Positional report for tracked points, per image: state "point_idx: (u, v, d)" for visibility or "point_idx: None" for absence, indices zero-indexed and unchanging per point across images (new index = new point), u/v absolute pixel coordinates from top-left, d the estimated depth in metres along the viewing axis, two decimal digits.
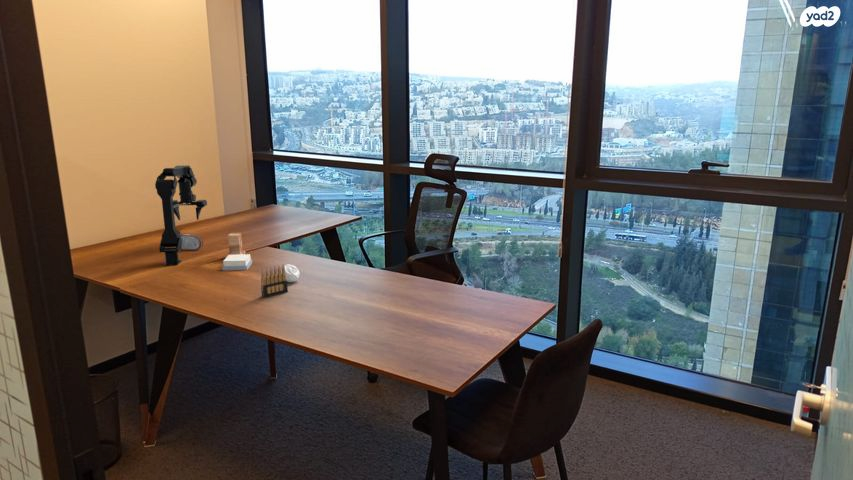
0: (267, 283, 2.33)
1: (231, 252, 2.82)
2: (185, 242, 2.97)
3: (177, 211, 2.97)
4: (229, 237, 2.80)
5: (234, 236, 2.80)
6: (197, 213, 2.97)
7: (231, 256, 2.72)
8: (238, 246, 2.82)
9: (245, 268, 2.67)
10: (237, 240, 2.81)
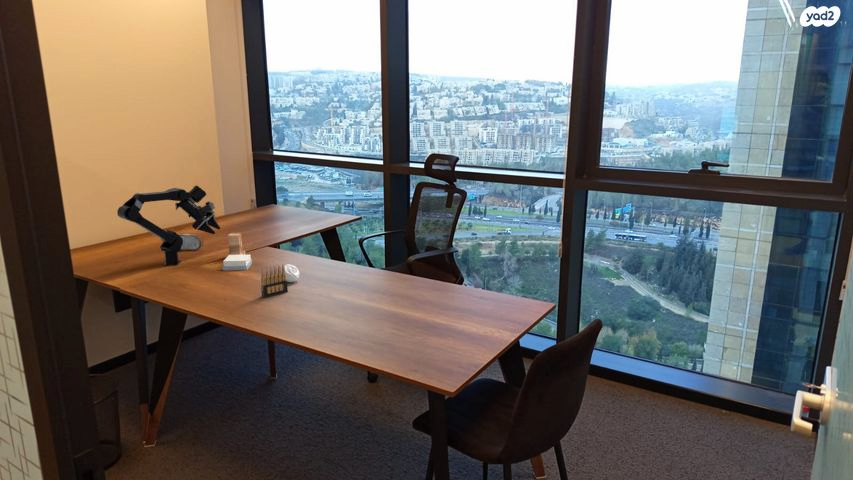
0: (267, 283, 2.33)
1: (231, 252, 2.82)
2: (185, 242, 2.97)
3: (211, 223, 2.85)
4: (229, 237, 2.80)
5: (234, 236, 2.80)
6: None
7: (232, 256, 2.72)
8: (238, 246, 2.82)
9: (245, 268, 2.67)
10: (237, 240, 2.81)
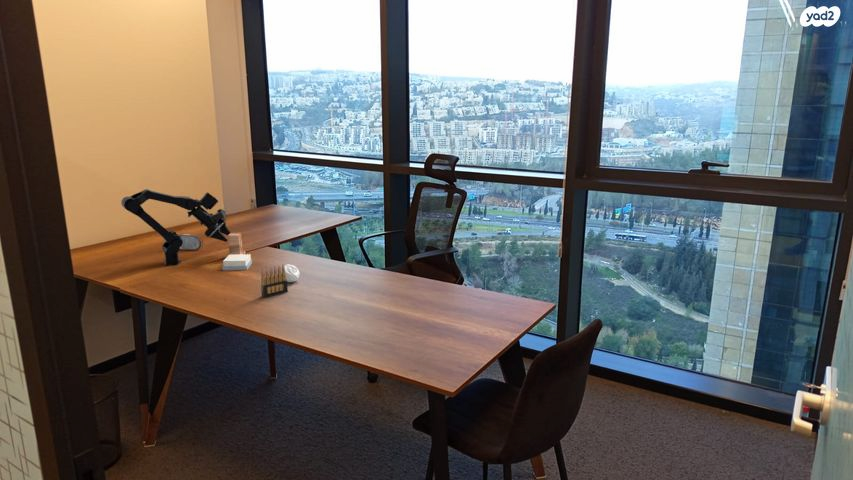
0: (267, 283, 2.33)
1: (231, 252, 2.82)
2: (185, 242, 2.97)
3: (223, 230, 2.87)
4: (229, 237, 2.80)
5: (234, 236, 2.80)
6: None
7: (232, 256, 2.72)
8: (238, 246, 2.82)
9: (245, 268, 2.67)
10: (237, 240, 2.81)
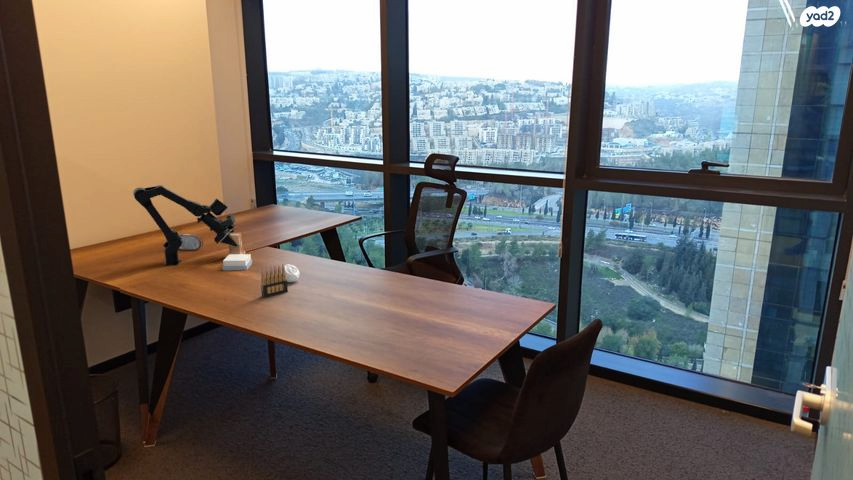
0: (267, 283, 2.33)
1: (231, 252, 2.82)
2: (185, 242, 2.97)
3: None
4: None
5: (234, 236, 2.80)
6: None
7: (232, 256, 2.72)
8: (238, 246, 2.82)
9: (245, 268, 2.67)
10: (237, 240, 2.81)
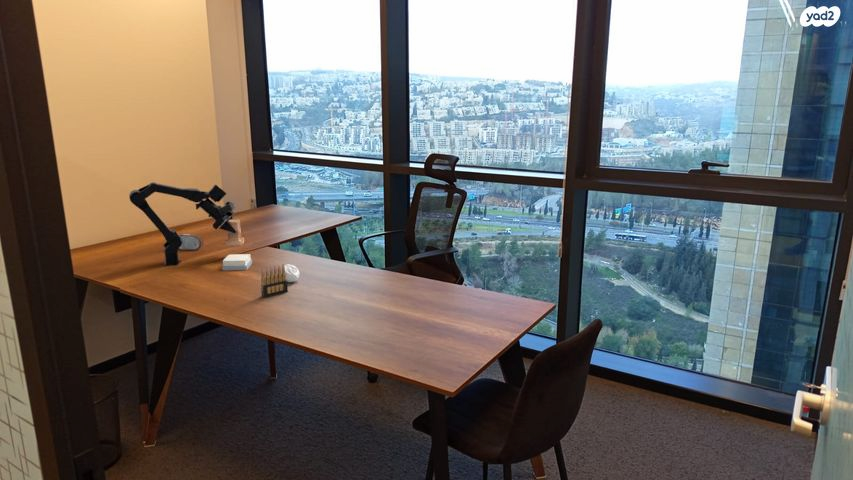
0: (267, 283, 2.33)
1: (230, 239, 2.80)
2: (185, 242, 2.97)
3: None
4: None
5: (233, 222, 2.78)
6: None
7: (231, 256, 2.72)
8: (237, 233, 2.80)
9: (245, 268, 2.67)
10: (236, 226, 2.79)
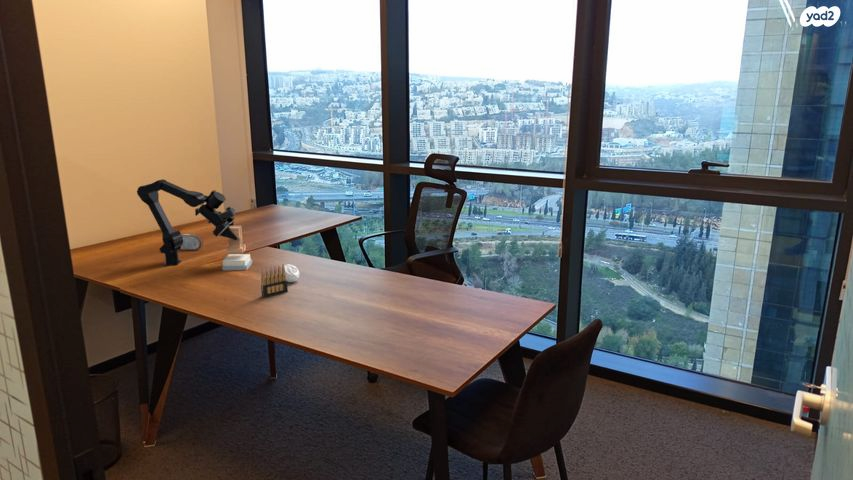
0: (267, 283, 2.33)
1: (231, 246, 2.68)
2: (185, 242, 2.97)
3: None
4: None
5: (234, 229, 2.66)
6: None
7: (231, 256, 2.72)
8: (238, 239, 2.67)
9: (245, 268, 2.67)
10: (237, 233, 2.66)
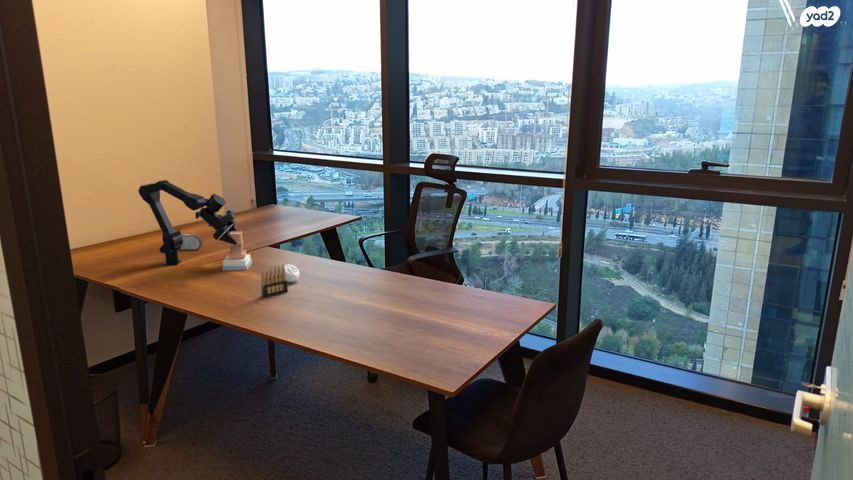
0: (267, 283, 2.33)
1: (232, 251, 2.67)
2: (185, 242, 2.97)
3: None
4: None
5: (236, 235, 2.66)
6: None
7: None
8: (240, 245, 2.67)
9: (245, 268, 2.67)
10: (239, 239, 2.66)
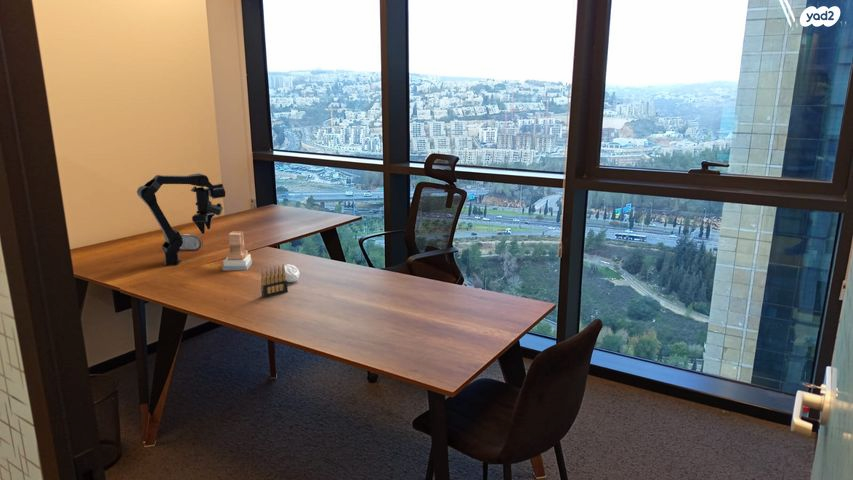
0: (267, 283, 2.33)
1: (232, 252, 2.67)
2: (185, 242, 2.97)
3: (206, 219, 2.87)
4: (230, 236, 2.65)
5: (235, 235, 2.65)
6: None
7: None
8: (239, 246, 2.66)
9: (245, 268, 2.67)
10: (238, 240, 2.65)
